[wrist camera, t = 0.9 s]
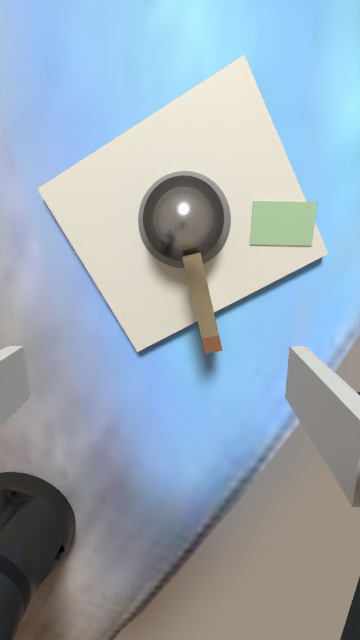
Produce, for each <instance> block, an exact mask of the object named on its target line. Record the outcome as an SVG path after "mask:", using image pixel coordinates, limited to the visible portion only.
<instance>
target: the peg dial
mask: <svg viewBox="0 0 360 640" xmlns="http://www.w3.org/2000/svg"><path fill="white" fill-rule="evenodd" d="M143 225H144V230H145V233H146V236H147V238H148V240H149V242H150V243H151V245H152V246H153V247H154V248H155V249H156V250H157V251H158V252H159V253H161V254H162V255H164V256H166V257H168V258H170V259H173V260H179V261H183V263H184V267H185V271H186V275H187V280H188V284H189V288H190V292H191V296H192V300H193V305H194V309H195V313H196V317H197V321H198V326H199V330H200V334H201V338H202V342H203V347H204V351H205V354H208V353H212V352H217V351H222V346H221V342H220V338H219V333H218V329H217V324H216V320H215V315H214V311H213V306H212V302H211V297H210V293H209V288H208V284H207V279H206V275H205V270H204V266H203V261H202V257H201V256H203V255H205V254H206V253H208V252H209V251H210V250H211V249H212V248H213V247H214V246H215V244H216V243H217V242H218V240H219V238H220V236H221V233H222V230H223V226H224V210H223V206H222V203H221V200H220V198H219V196H218V194H217V193H216V192H215V190H214V189H213V188H212V187H211V186H210V185H209V184H207V183H206V182H205V181H203V180H201V179H199V178H196V177H193V176H186V175H182V176H175V177H171V178H168V179H166V180H165V181H163V182H161V183H160V184H159V185H158V186H156V187H155V188H154V190H153V191H152V192H151V193H150V195H149V197H148V199H147V201H146V203H145V207H144V211H143Z"/></svg>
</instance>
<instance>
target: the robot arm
mask: <svg viewBox="0 0 360 640" xmlns="http://www.w3.org/2000/svg"><path fill="white" fill-rule="evenodd" d="M29 397H30V390H29V383H28V376H27V370H26V363H25V356H24V349H23V346H8V347H6V348H4V349H2V350H1V351H0V426H1V425H2V424H3V423H4V422H5V421H6V420H7V419H8V418H9V417H10V416H11V415H12V414H13V413H14V412H15V411H16V410H17V409H18V408H19V407H20V406H21V405H22V404H23V403H24V402H25V401H26V400H27V399H28V398H29ZM285 398H286V400H287V401H288V403H289V405H290V406H291V408H292V409H293V411H294V413H295V414H296V416H297V418H298V419H299V421H300V422H301V424H302V426H303V427H304V429H305V430H306V432H307V434H308V435H309V437H310V438H311V440H312V442H313V443H314V445H315V447H316V448H317V450H318V452H319V453H320V455H321V456H322V458H323V460H324V461H325V463H326V464H327V466H328V468H329V469H330V471H331V473H332V474H333V476H334V478H335V479H336V481H337V482H338V484H339V486H340V487H341V489H342V490H343V492H344V494H345V495H346V497H347V499H348V500H349V502H350V504H351V505H352V506H353V507H355V506H356V507H360V392H355V391H354V390H353V389H352V388H351V387H350V386H349V385H347V383H345V382H344V381H343V380H342V379H341V378H340V377H339V376H338V375H337V374H335V373H334V372H333V371H332V370H331V369H330V368H329V367H328V366H327V365H326V364H324V363H323V362H322V361H321V360H320V359H319V358H318V357H317V356H316V355H315V354H313V353H312V352H311V351H310V350H309V349H308V348H307V347H306V346H290V348H289V359H288V371H287V383H286V394H285ZM74 529H75V520H74V515H73V511H72V509H71V507H70V505H69V503H68V502H67V500H66V499H65V497H64V496H63V495H62V494H61V493H60V492H59V491H58V490H57V489H56V488H54V487H53V486H52V485H50V484H49V483H47V482H45V481H43V480H41V479H39V478H37V477H34V476H31V475H28V474H23V473H16V472H4V473H0V640H13V639H14V637H15V634H16V632H17V630H18V627H19V625H20V623H21V621H22V618H23V616H24V614H25V611H26V609H27V607H28V605H29V602H30V600H31V598H32V597H33V595H34V594H35V593H36V592H37V590H38V589H39V588H40V587H41V585H42V584H43V583H44V582H45V580H46V579H47V578H48V576H49V575H50V574H51V573H52V571H53V570H54V569H55V568H56V566H57V565H58V564H59V563H60V561H61V560H62V558H63V557H64V555H65V553H66V551H67V549H68V547H69V544H70V542H71V539H72V537H73V534H74ZM340 640H360V578H359V581H358V584H357V588H356V591H355V594H354V597H353V600H352V604H351V607H350V610H349V613H348V617H347V620H346V623H345V626H344V629H343V633H342V636H341V639H340Z"/></svg>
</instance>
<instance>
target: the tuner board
mask: <svg viewBox="0 0 360 640" xmlns="http://www.w3.org/2000/svg"><path fill="white" fill-rule="evenodd" d="M182 175H186V176H193V177H196V178H199V179H201V180H203V181H205V182H206V183H207V184H209V185H210V186H211V187H212V188H213V189H214V190H215V192H216V193H217V194H218V196H219V198H220V200H221V203H222V206H223V210H224V226H223V230H222V233H221V236H220V238H219V240H218V242H217V243H216V244H215V246H214V247H213V248H212V249H211V250H210V251H209V252H208V253H206V254H205V255H203V256H201V257H202V261H203V266H204V270H205V275H206V279H207V284H208V288H209V293H210V297H211V302H212V306H213V311H214V312H216V311H218V310H220V309H222V308H224V307H226V306H228V305H230V304H232V303H234V302H236V301H238V300H239V299H241V298H243V297H245V296H247V295H249V294H251V293H253V292H255V291H257V290H259V289H261V288H263V287H265V286H267V285H269V284H271V283H272V282H274V281H276V280H278V279H280V278H282V277H284V276H286V275H288V274H290V273H292V272H294V271H296V270H298V269H300V268H302V267H303V266H305V265H307V264H309V263H311V262H313V261H315V260H317V259H319V258H321V257H323V256H325V255H327V254H328V252H327V249H326V247H325V245H324V242H323V240H322V237H321V235H320V233H319V230H318V228H317V226H316V223H315V218H316V210H317V202H306V200H305V197H304V195H303V193H302V190H301V188H300V186H299V183H298V181H297V178H296V176H295V174H294V171H293V169H292V167H291V164H290V162H289V160H288V157H287V155H286V152H285V150H284V148H283V145H282V143H281V141H280V138H279V136H278V134H277V131H276V129H275V126H274V124H273V122H272V119H271V117H270V115H269V112H268V110H267V108H266V105H265V103H264V101H263V98H262V96H261V93H260V91H259V89H258V86H257V84H256V82H255V79H254V77H253V75H252V72H251V70H250V67H249V65H248V63H247V60H246V58H245V56H244V55H243V56H242V57H240V58H238V59H237V60H235V61H234V62H232V63H231V64H229V65H228V66H226V67H225V68H223V69H221V70H220V71H218V72H217V73H215V74H214V75H212V76H211V77H209V78H208V79H206V80H204V81H203V82H201V83H200V84H198V85H197V86H195V87H194V88H192V89H191V90H189V91H188V92H186V93H184V94H183V95H181V96H180V97H178V98H177V99H175V100H174V101H172V102H171V103H169V104H167V105H166V106H164V107H163V108H161V109H160V110H158V111H157V112H155V113H154V114H152V115H150V116H149V117H147V118H146V119H144V120H143V121H141V122H140V123H138V124H137V125H135V126H134V127H132V128H130V129H129V130H127V131H126V132H124V133H123V134H121V135H120V136H118V137H117V138H115V139H113V140H112V141H110V142H109V143H107V144H106V145H104V146H103V147H101V148H100V149H98V150H96V151H95V152H93V153H92V154H90V155H89V156H87V157H86V158H84V159H83V160H81V161H80V162H78V163H76V164H75V165H73V166H72V167H70V168H69V169H67V170H66V171H64V172H63V173H61V174H59V175H58V176H56V177H55V178H53V179H52V180H50V181H49V182H47V183H46V184H44V185H42V186H41V187H39V188H38V191H39V193H40V194H41V196H42V197H43V199H44V201H45V202H46V204H47V206H48V207H49V209H50V210H51V212H52V214H53V215H54V217H55V219H56V220H57V222H58V223H59V225H60V227H61V228H62V230H63V232H64V233H65V235H66V236H67V238H68V240H69V241H70V243H71V245H72V246H73V248H74V249H75V251H76V253H77V254H78V256H79V258H80V259H81V261H82V262H83V264H84V266H85V267H86V269H87V271H88V272H89V274H90V276H91V277H92V279H93V280H94V282H95V284H96V285H97V287H98V289H99V290H100V292H101V293H102V295H103V297H104V298H105V300H106V302H107V303H108V305H109V306H110V308H111V310H112V311H113V313H114V315H115V316H116V318H117V319H118V321H119V323H120V324H121V326H122V328H123V329H124V331H125V332H126V334H127V336H128V337H129V339H130V341H131V342H132V344H133V345H134V347H135V349H136V350H137V352H139V351H140V350H142V349H144V348H146V347H148V346H150V345H152V344H154V343H156V342H158V341H160V340H162V339H164V338H166V337H168V336H170V335H172V334H173V333H175V332H177V331H179V330H181V329H183V328H185V327H187V326H189V325H191V324H193V323H195V322H197V317H196V313H195V309H194V305H193V300H192V296H191V292H190V288H189V284H188V280H187V275H186V271H185V267H184V263H183V261H179V260H173V259H170V258H168V257H166V256H164V255H162V254H161V253H159V252H158V251H157V250H156V249H155V248H154V247H153V246H152V245H151V243H150V242H149V240H148V238H147V236H146V233H145V230H144V225H143V211H144V207H145V203H146V201H147V199H148V197H149V195H150V193H151V192H152V191H153V190H154V188H155V187H156V186H158V185H159V184H160V183H161V182H163V181H165V180H166V179H168V178H171V177H175V176H182Z"/></svg>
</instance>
